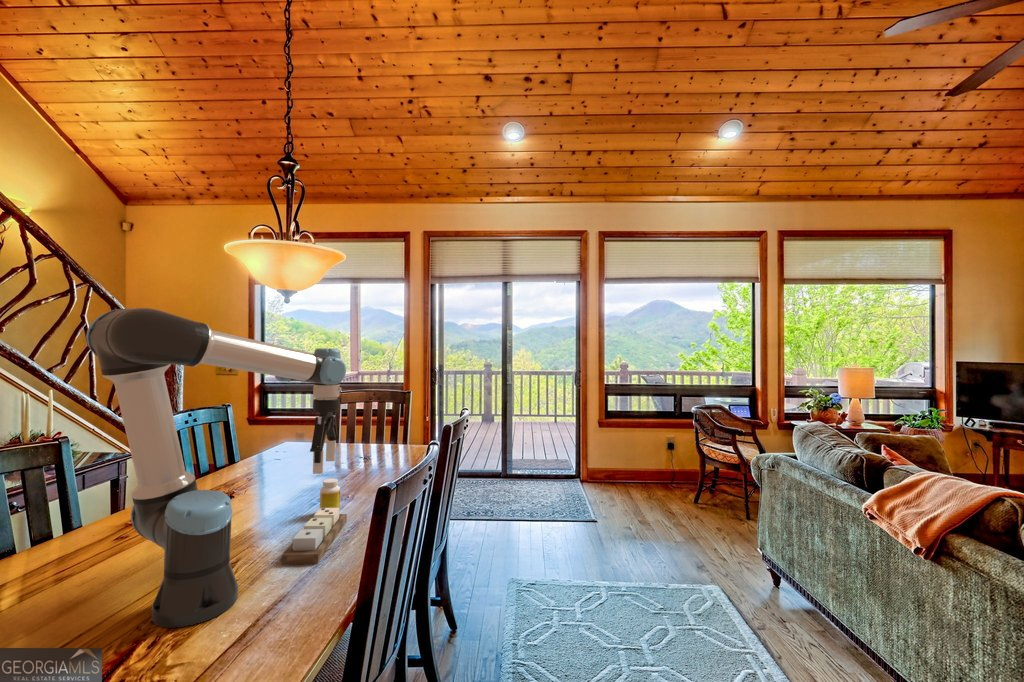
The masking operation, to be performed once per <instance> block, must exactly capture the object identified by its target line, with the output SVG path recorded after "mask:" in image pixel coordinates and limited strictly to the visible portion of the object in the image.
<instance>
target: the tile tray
mask: <svg viewBox="0 0 1024 682" xmlns="http://www.w3.org/2000/svg"><path fill="white" fill-rule="evenodd" d="M347 517H348V515H347V513H339V519H338V520H337V522H336V523H335V524H334V525H331V530H330V531H329V532H328V534H327V535H326V537H323V541H322V542H321V543H320V545H319V546H318V547H317V549H316V550H302V551H293V542H292V543H291V544H290V545H289V546H288V547H287V549H286V550H285V551H284V552H283V553H282V554H281V565H311V564H312V565H317V564H318V565H319V563H320V561H321V560H322V559H323V557H324V556H325V555H326V553H327V551H328V550H329V548H330V547H331V546H332V544H333V543H334V540H336V538H337V537H338V535H339V534H340V532H341V530H343V528H344V527H345V525H346V524H347V519H348V518H347Z"/></svg>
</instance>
